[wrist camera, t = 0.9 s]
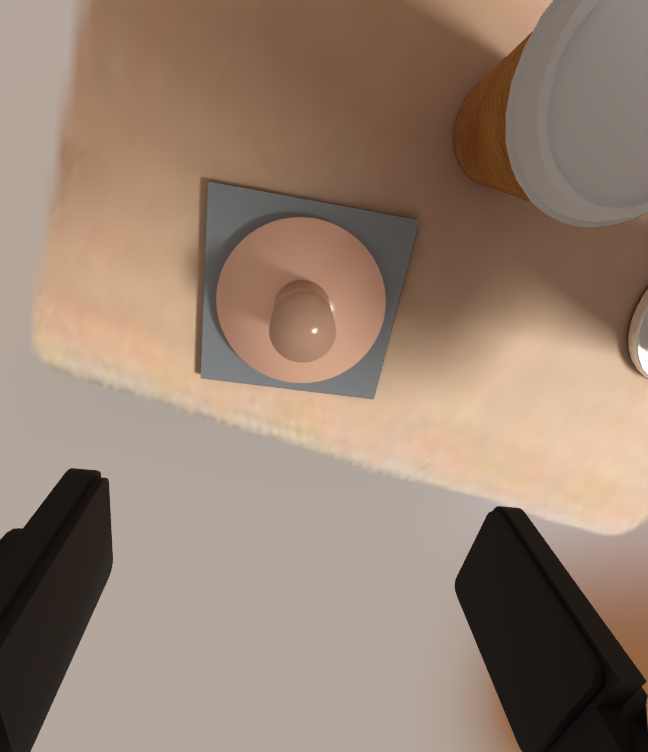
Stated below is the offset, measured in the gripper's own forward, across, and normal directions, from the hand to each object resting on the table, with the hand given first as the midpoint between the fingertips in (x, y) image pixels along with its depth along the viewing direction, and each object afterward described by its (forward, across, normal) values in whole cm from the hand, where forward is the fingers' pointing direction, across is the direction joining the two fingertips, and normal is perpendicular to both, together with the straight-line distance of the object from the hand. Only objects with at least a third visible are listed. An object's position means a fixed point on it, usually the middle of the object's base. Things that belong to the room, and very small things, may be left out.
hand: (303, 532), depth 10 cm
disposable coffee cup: (+22, -11, -13) cm, 28 cm away
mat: (+22, -1, 0) cm, 22 cm away
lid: (+21, -1, 0) cm, 21 cm away
